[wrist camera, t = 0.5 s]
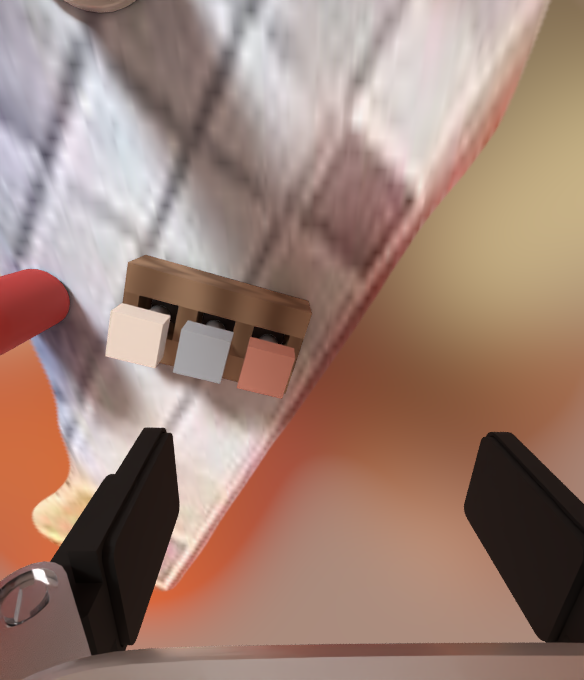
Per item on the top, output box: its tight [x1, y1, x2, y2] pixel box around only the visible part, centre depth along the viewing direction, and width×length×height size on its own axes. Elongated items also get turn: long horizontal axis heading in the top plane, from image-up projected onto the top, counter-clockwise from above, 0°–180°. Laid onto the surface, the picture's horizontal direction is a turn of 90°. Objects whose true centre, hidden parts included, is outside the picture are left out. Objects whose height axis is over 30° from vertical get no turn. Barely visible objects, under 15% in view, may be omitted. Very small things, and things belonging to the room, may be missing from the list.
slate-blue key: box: [173, 320, 234, 384], centre depth 36 cm, size 4×4×7 cm
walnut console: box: [123, 255, 312, 393], centre depth 40 cm, size 19×10×5 cm, turn 74°
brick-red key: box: [237, 334, 295, 399], centre depth 36 cm, size 4×4×7 cm
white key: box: [105, 303, 171, 368], centre depth 35 cm, size 4×4×7 cm
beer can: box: [0, 269, 70, 355], centre depth 35 cm, size 7×7×12 cm
